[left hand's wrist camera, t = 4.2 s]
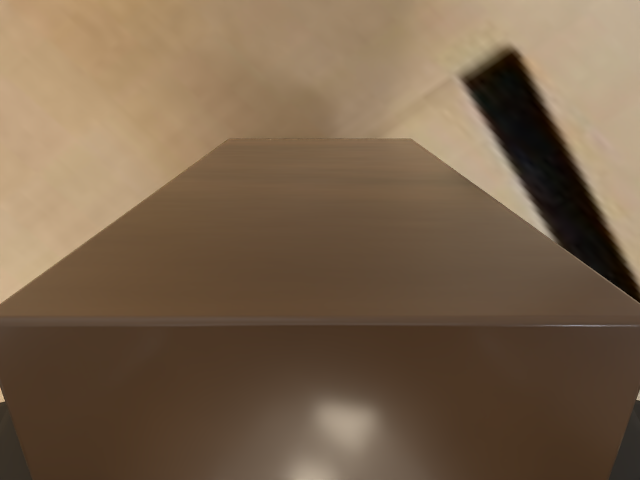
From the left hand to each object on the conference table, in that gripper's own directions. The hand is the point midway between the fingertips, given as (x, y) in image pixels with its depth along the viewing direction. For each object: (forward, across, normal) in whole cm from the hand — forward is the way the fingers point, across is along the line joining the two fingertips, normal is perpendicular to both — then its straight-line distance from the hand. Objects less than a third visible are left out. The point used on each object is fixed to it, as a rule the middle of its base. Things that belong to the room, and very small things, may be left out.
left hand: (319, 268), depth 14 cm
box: (+2, 0, -8) cm, 8 cm away
